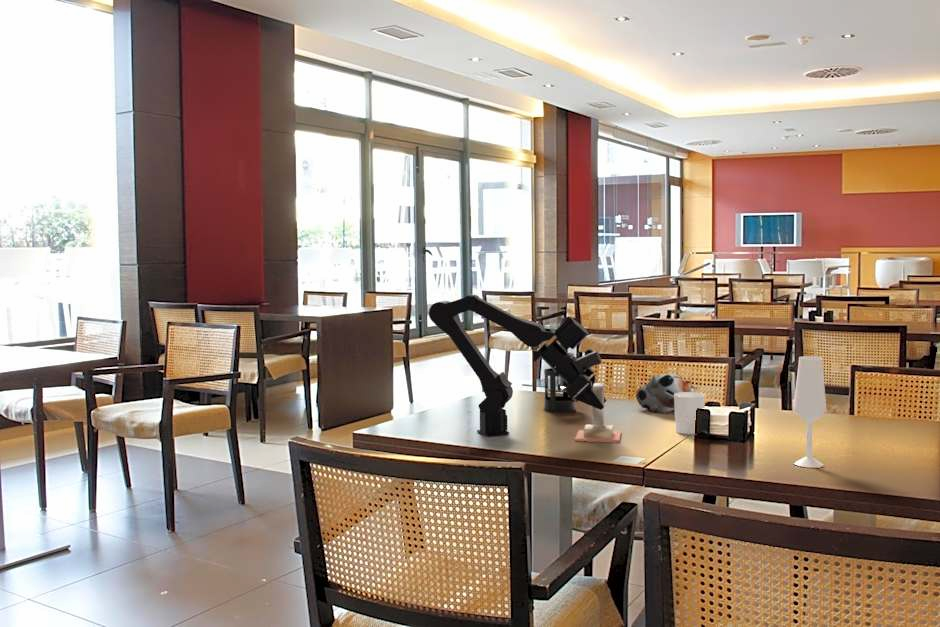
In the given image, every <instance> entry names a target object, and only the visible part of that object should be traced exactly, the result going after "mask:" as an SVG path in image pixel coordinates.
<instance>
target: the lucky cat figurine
mask: <svg viewBox="0 0 940 627" xmlns="http://www.w3.org/2000/svg"><path fill="white" fill-rule="evenodd" d="M695 391H696V387H695V386H694V385H693V384H692V381H691V380H684V379H683V378H682V377H680V376H679V375H677V374H674V373H670V374H669V373H665V374H663V373H662V374H658V375H656V374H654V375H653V376H652V378H651V380H649V381H647V383H646V384H644V385H641V386H640V387H639V388H638V389H637V391H636V394H635V398H636V400H637V403H638V405H639V406H640V407H641V408H643V409H646V410H647V411H648V412H649V413H652V414H669V413H670V412H672V411H675V407H674V394H675V393H679V392H695Z"/></svg>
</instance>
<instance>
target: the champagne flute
mask: <svg viewBox="0 0 940 627" xmlns="http://www.w3.org/2000/svg"><path fill="white" fill-rule="evenodd" d="M796 374H797V375H796V382H795V383H796V384H795V390H794V391H795V392H794V398H793V399H794V400H793V409H794V411H795V412H796V414H797V415H798V416H799V417H800V418H801V419H802V420H804V422H806V435H805V437H806V439H805V440H806V441H805V445H806V446H805V447H806V448H805V456H804V457H802V458H800V459H798V460H797V461H795V463H794V462H793V463H794V464H795V465H798V466H802V467H803V466H804V467H820V466H822V465H824V464H823V463H822V462H820V461H818V460H817V459H816V458H814V456H813V422H815V421H817V420H818V419H819V418H821V417H822V416H823V414H824V413H825V412H826V410H827V401H826V390H825V378H824V376H825V375H824V366H823V357H820V356H805V355H804V356H799V357H798V366H797V372H796Z"/></svg>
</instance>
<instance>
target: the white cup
mask: <svg viewBox="0 0 940 627" xmlns="http://www.w3.org/2000/svg"><path fill="white" fill-rule="evenodd" d="M705 403H706V394H705V393H702V392H695V391H694V392H679V393H675V394H674V407H675V410H674V420H675V432H676V433H677V434H681V435H688V436H689V435H695V434H694V433H695V420H696V410H697V408H704V409H705Z"/></svg>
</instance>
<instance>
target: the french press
mask: <svg viewBox="0 0 940 627" xmlns="http://www.w3.org/2000/svg"><path fill="white" fill-rule="evenodd" d="M558 344H559V345H560V346H561V344H560V343H559V342H558ZM566 352H567V351H566ZM567 353H568V354H569V355H570V356H575V353H573V352H567ZM554 368H555V367H554ZM554 368H553V369H554ZM553 369H552V368H551V367H550V368H545V369H544V370H543V371H544V372H543V374H544V407H543V410H544V411H545V412H548V413H549V412H550V413H569V412H570V411H571V412H573V411H575V410H576V407H575V403H577V402H579V401H578V400H575V399H574V397H575V396H574V397H573V398H572V399H571V398H570V397H569V396H568V395H567V394H566V388H567V387H568V386H567V385H566V384H567V383H566V382H565V381H564V380H563V379H562V384H561V380H560V379H561V377H560V376H559V375H558V376H557V375H556V374H555V371H554V370H553ZM556 377H558V384H557V382H556V379H557V378H556ZM556 384H557V385H556ZM556 393H557V394H559V393H561V394H562V395H557V394H556ZM549 394H550V396H549Z"/></svg>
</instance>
